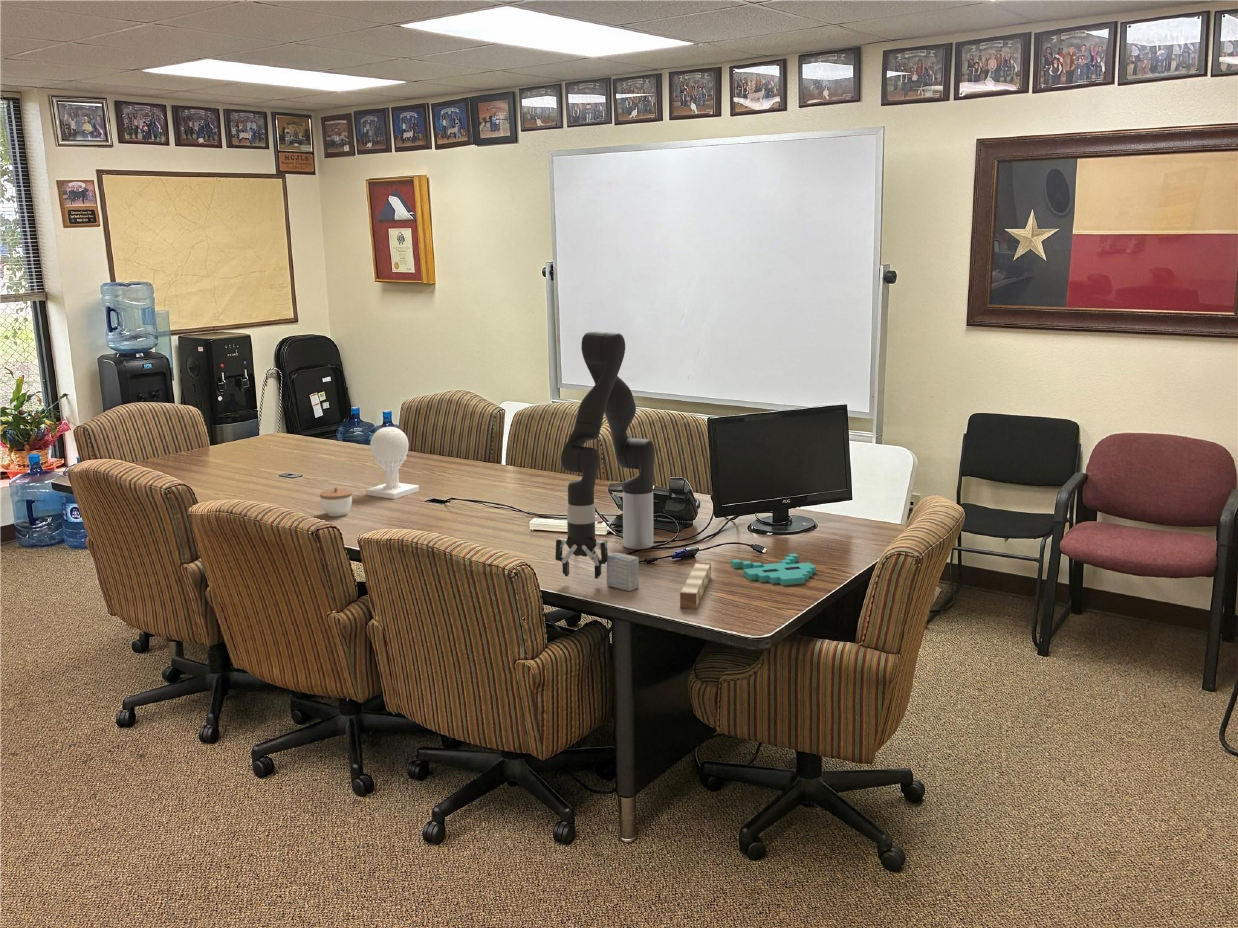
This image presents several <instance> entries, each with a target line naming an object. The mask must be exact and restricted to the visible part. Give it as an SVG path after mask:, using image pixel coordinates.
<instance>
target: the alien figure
mask: <svg viewBox="0 0 1238 928" xmlns="http://www.w3.org/2000/svg"><path fill="white" fill-rule="evenodd" d="M783 557H784V558H783V559H781V560H780V562H775V563H766V564H762V563H761V562H760V561H759V562H751V561H750V560H745V561H742V560H740V559H737V558H736V559H731V561H730V563H731V565H730V566H731V567H732V568H733V569H740V568H742V570H743V572H742V573H743V577H745V578H746V579H747V580H748V581H755V580H757V581H758V582H760V583H764V582H765V583H767V582H768V583H770V584H771V585H772V584H780V585H781V587H783V586H791V585H799V584H805V583H806V580H807V581H808V580H809V578H811V577H813V574H816V573H817V567H816V566H815V565H813V564H812V563H810V562H799V555H798V554H797V553H789V554H787V556H783ZM796 562H799V563H796Z"/></svg>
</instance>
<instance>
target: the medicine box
mask: <svg viewBox="0 0 1238 928" xmlns="http://www.w3.org/2000/svg"><path fill="white" fill-rule="evenodd" d="M639 563H640V560H639V557H638V556H633V555H631V554H625V553H621V552H614V553H611V554H608V556H607V562H606V584H607V585H606V586H607V587H610V588H614V589H618V590H619V589H620V590H623V591H627V592H632V591H634V590H636V589H639V588H640V573H639V572H640V569H639V568H640V567H639V566H640V564H639Z"/></svg>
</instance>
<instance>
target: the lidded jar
mask: <svg viewBox="0 0 1238 928" xmlns="http://www.w3.org/2000/svg"><path fill="white" fill-rule="evenodd" d="M319 497H320V498H319V499H320V503H321V507H322V510H323V511H324V512H325V513H326V514H327V515H328V516H329V517H342V516H346V515H347V514H348V512H349V511H350V509H351V508H352V504H353V491H352V489H347V488H338V487H334V488H331V489H327V490H324V491H321V492H320V493H319Z"/></svg>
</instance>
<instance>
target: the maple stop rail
mask: <svg viewBox="0 0 1238 928" xmlns="http://www.w3.org/2000/svg"><path fill="white" fill-rule="evenodd" d="M711 575H712V562H700V561H696V562H695V563H694V566H693V567H692V570H691V572H690V574H689V576H688V578H687V580H686V581H685V584H684V585H683V587H682V589H681V591H680V592H679V606H680V607H679V608H680V609H688V610H689V609H690V610H697V608H698V605H699V603H700V601H701V598H702V596H703V594H704V592H705V590H706V588H707V585H708V583H709V581H710V579H711V578H712V576H711Z"/></svg>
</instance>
